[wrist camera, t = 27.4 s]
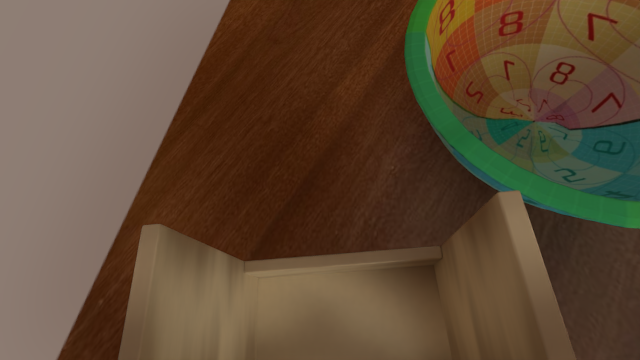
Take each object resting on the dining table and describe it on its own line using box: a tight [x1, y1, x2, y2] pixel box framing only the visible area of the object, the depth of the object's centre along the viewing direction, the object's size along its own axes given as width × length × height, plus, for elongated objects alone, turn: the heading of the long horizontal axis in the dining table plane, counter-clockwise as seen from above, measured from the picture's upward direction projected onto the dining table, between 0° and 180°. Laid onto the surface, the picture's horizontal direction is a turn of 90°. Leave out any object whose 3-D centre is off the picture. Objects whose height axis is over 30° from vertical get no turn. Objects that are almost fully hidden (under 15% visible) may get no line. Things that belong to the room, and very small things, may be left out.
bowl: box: [404, 0, 640, 229], centre depth 23 cm, size 22×22×10 cm
